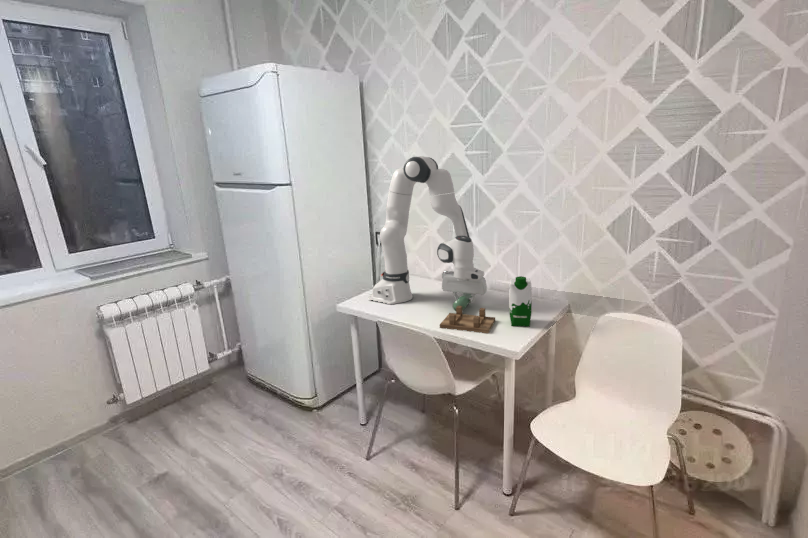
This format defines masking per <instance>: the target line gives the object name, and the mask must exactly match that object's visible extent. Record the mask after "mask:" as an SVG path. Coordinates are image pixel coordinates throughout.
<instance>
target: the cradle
mask: <svg viewBox="0 0 808 538" xmlns="http://www.w3.org/2000/svg"><path fill="white" fill-rule="evenodd" d="M478 312H479V313H478V315H476V314H475V315H474V314H473V315H472V314H466V313H465V314H463V311H462V306H457V307H456V311H455V313H454V312H449V313H448V314H447V315H446V317H445V318H443V320H442V321H441V322H440V324H439V329H446V328H447V330H454V329H457V330H456V331H463V330H467V331H466V332H471V331H474V332H473V333H480V332H482V333H481V334H489V333H490V331H491V329H492V328H493V326H494V324H495V322H496V317H494V316H487V315H486V308H484V307H480V308H479V309H478Z"/></svg>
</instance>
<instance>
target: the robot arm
mask: <svg viewBox="0 0 808 538" xmlns="http://www.w3.org/2000/svg"><path fill="white" fill-rule="evenodd" d="M416 183H420V184H424V183H425V184H426V185H427V187H428V191H429V192H428V193H429V200H430V206H431V208H432V209H433V211H434V212H435V213H437V214H439V215H440V216H443V217H447V218H448V219H450V221H451V222H452V225H453V229H454V232H455V237H454V238H452V239H450V240H447V241H444V242H441V243H440V244H439V245H438V247H437V250H436V254H437V257H438V259H439V260H440V262H441V263H444V264H450V263H452V264H453V270H452V271H449V270H445V271H443V272H442V273H441V279H442V282H441V289H442V291H444V292H450V293H452V295H453V297H454V302H455V301H456V300H457V299H458V298H459V297H460V296H459V295H458V293H460V294H463V293H468V294H471V296H472V298H469V304H473V303H474V298H475V296H476V295H480V296H484V295H486V293H487V291H488V288H487V287H488V285H487V280H486V277H484V276H485V271H484V270H480V269H478V268H476V267H474V266H475V264H474V262H473V260H474V252H475V251H474V250H475V249H474V242H473V240H472V238H471V237H470V234H469V230H468V226H467V222H466V217H465V215H464V212H463V209H462V206H461V205H460V204H459V203H458V201H457V199H456V195H455V188H454V182H453V180H452V176H451V173H450V172H449V171H448V170H447V169H444V168H439V165H438V162H437V161H436V160H435V159H433V158H432V157H429V156H424V155H422V156H412V157H410V158H409V159H407V160H406V161H405V162H404V165H403V167H400V168H396V169H395V170H394V172H393V174H392V177H391V179H390V184H389V188H388V194H387V200H386V206H385V207H386V209H385V210H386V213H385V222H384V226H383V227H382V228H381V229H380V231H379V232H380V233H379V239H380V243H381V249H382V253H383V257H384V258H383V259H384V269H385V271H383V272H382V273H380V277H382V278H381V279H380V280H379V281H378V282H376V284H375V285H373V288H372V292H371V294H369V296H368V298H367V299H370V300H374V301H373V302H375V301H378V302H377V303H380V302H383V303H382V304H385V303H387V304H386V305H395V304H399V303H405V302H409V301H411V300H412V299H413V297H414V296H413V294H412V289H411V285H410V273H409V272H410V271H409V269H408V255H407V251H406V247H405V246H406V244H405V236H406V235H407V231H408V224H409V218H410V217H409V216H410V208H411V204H412V197H413V192H414V187H415V184H416ZM370 300H369V301H370Z"/></svg>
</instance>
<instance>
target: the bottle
mask: <svg viewBox="0 0 808 538" xmlns="http://www.w3.org/2000/svg"><path fill="white" fill-rule="evenodd" d="M458 297H459V298H458V299H457V300H456V301H455V300H454V302H453V304H452V309H453V310H454V311H455V312H456V307H457V306H462V312H463V311H464V310H465V309H466V308H467V306H468V305H469V304H470V303H469V298H472V296H471V294H468V293H461V295H460V296H458Z"/></svg>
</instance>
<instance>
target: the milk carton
mask: <svg viewBox="0 0 808 538" xmlns="http://www.w3.org/2000/svg"><path fill="white" fill-rule="evenodd" d="M532 289H533V287H532V282H531V279H530V278H527V277H526V276H522V275H521V276H519V275H518V276H516V277H515V278H510V281H509V286H508V290H509V291H508V293H509V294H508V311H509V312H508V314H509V319H510V326H511V327H525V328H526V327H530V325H531V319H532V308H533V307H532V305H533V303H532V302H533V300H532V299H533V296H532V295H533V294H532V293H533V292H532Z"/></svg>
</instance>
